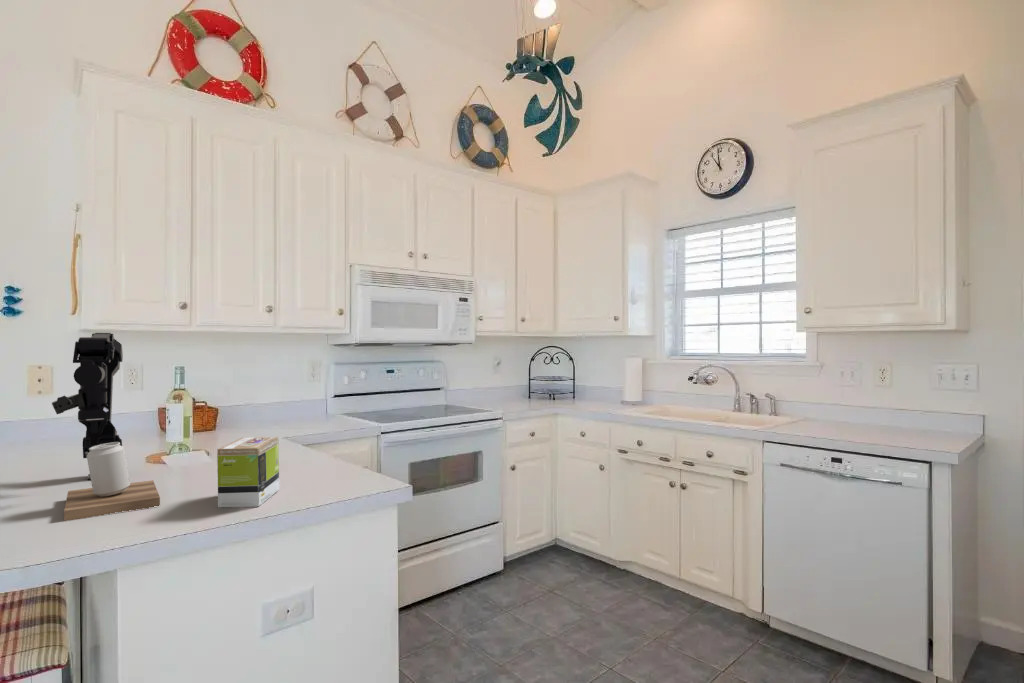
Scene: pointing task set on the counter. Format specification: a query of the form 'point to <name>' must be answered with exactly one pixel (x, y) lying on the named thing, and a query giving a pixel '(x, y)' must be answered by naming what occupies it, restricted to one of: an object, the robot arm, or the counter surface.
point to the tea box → (248, 471)
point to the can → (108, 469)
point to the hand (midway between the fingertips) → (93, 442)
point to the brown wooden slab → (110, 501)
